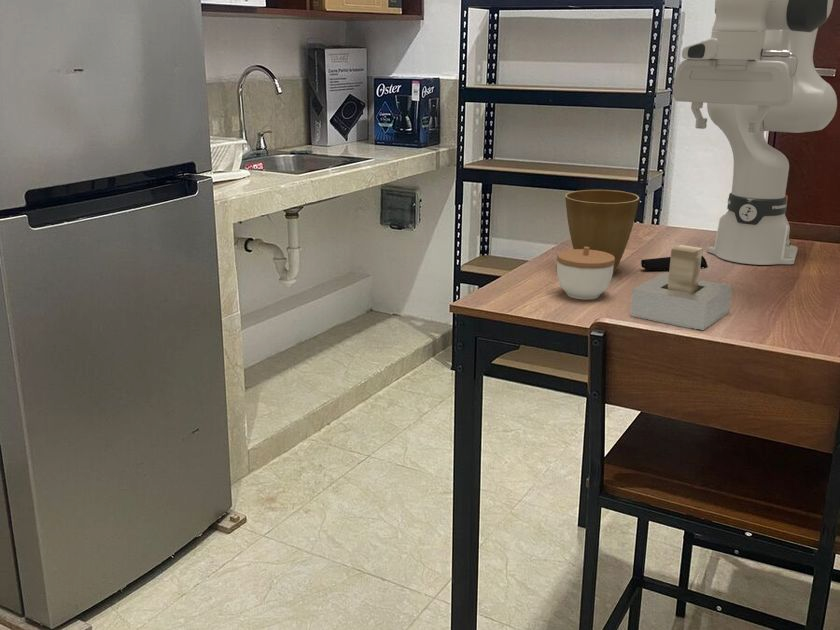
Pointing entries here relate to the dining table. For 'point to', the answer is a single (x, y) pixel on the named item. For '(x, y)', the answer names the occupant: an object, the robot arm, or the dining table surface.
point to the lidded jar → (584, 272)
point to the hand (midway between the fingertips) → (726, 130)
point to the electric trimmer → (663, 263)
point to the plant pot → (601, 220)
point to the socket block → (681, 303)
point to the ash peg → (684, 269)
